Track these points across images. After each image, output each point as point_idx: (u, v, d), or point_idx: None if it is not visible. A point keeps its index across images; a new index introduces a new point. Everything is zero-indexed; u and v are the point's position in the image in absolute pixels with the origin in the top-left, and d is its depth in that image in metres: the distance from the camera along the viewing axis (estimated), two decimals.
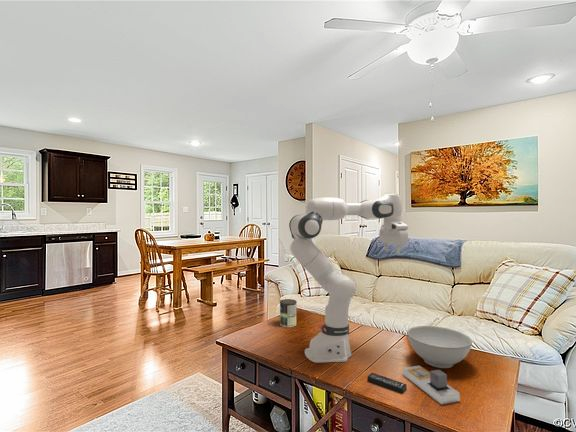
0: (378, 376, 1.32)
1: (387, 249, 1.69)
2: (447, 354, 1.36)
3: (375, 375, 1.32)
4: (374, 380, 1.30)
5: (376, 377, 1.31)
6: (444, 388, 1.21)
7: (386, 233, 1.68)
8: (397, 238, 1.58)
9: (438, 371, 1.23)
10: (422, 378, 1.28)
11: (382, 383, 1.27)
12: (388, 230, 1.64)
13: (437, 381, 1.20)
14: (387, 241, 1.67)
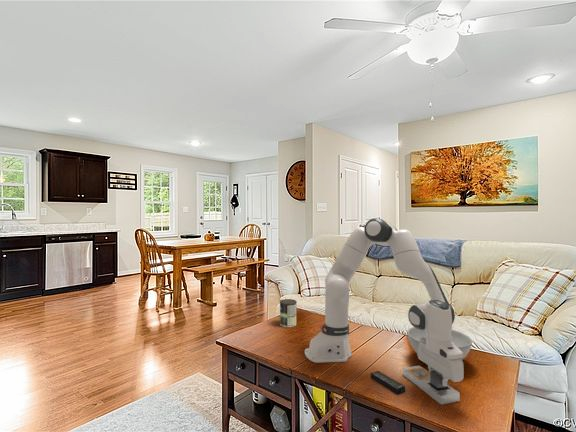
0: (381, 375, 1.33)
1: None
2: None
3: (379, 373, 1.34)
4: (375, 377, 1.32)
5: (379, 375, 1.33)
6: (444, 388, 1.21)
7: (429, 353, 1.25)
8: (448, 370, 1.15)
9: None
10: (422, 378, 1.28)
11: (381, 381, 1.29)
12: (433, 353, 1.21)
13: (437, 381, 1.20)
14: (431, 365, 1.23)
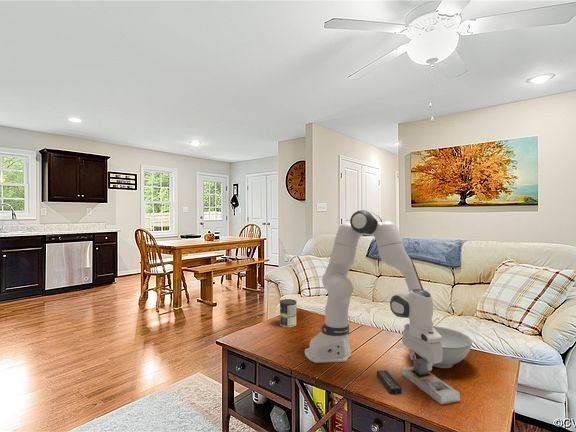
0: (386, 374, 1.33)
1: (413, 357, 1.36)
2: (447, 354, 1.36)
3: (385, 372, 1.35)
4: (379, 375, 1.33)
5: (383, 374, 1.34)
6: (426, 375, 1.30)
7: (412, 338, 1.34)
8: (429, 353, 1.25)
9: (420, 359, 1.33)
10: (422, 378, 1.28)
11: (382, 380, 1.30)
12: (416, 338, 1.30)
13: (419, 369, 1.30)
14: (414, 349, 1.33)
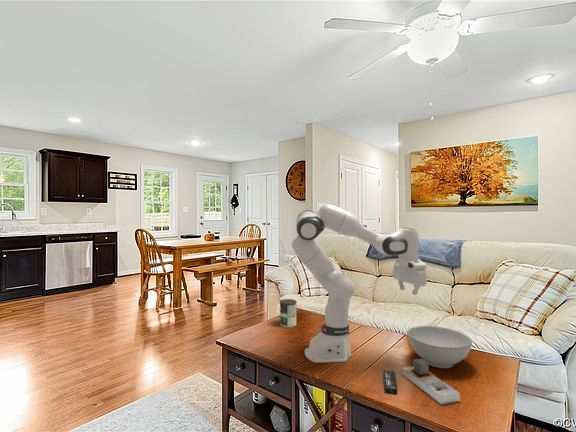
0: (390, 374, 1.33)
1: (402, 287, 1.56)
2: (447, 354, 1.36)
3: (391, 373, 1.34)
4: (383, 374, 1.34)
5: (388, 374, 1.34)
6: (426, 375, 1.30)
7: (401, 270, 1.55)
8: (415, 278, 1.45)
9: (420, 359, 1.33)
10: (422, 378, 1.28)
11: (384, 379, 1.31)
12: (404, 268, 1.50)
13: (419, 369, 1.30)
14: (403, 279, 1.53)
